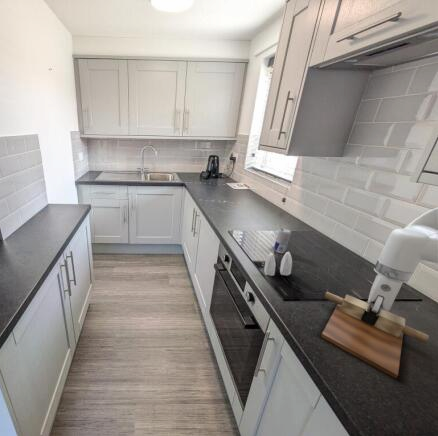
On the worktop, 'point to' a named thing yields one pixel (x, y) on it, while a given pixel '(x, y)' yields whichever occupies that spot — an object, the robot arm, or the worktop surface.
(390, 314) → the rolling pin
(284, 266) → the shaker set
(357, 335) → the pastry board
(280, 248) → the energy drink
